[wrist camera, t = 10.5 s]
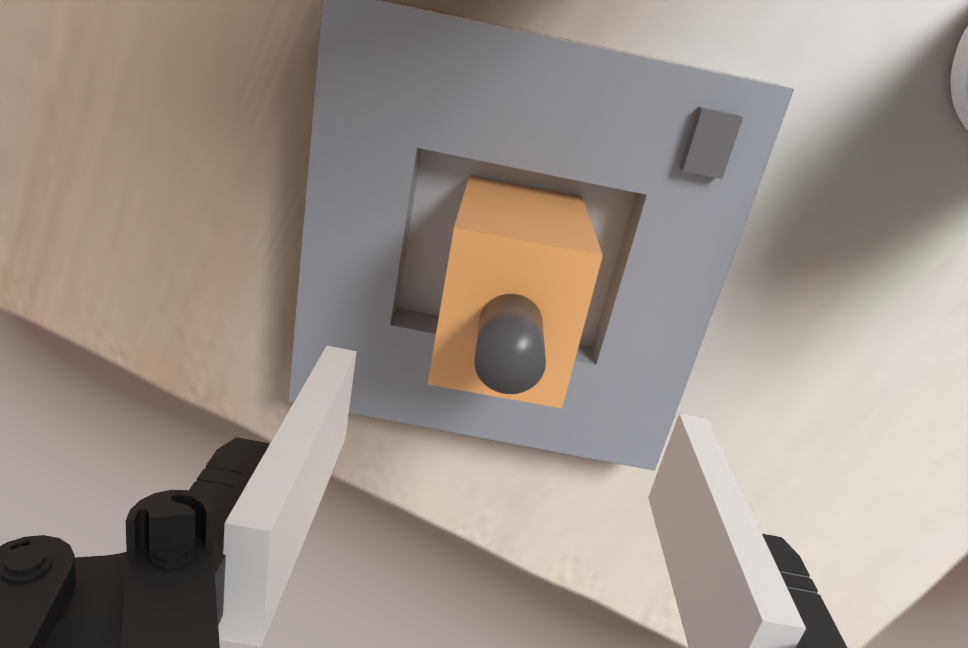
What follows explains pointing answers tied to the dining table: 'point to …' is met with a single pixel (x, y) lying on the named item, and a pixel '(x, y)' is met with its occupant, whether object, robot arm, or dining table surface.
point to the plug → (515, 292)
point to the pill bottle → (961, 79)
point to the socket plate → (529, 162)
